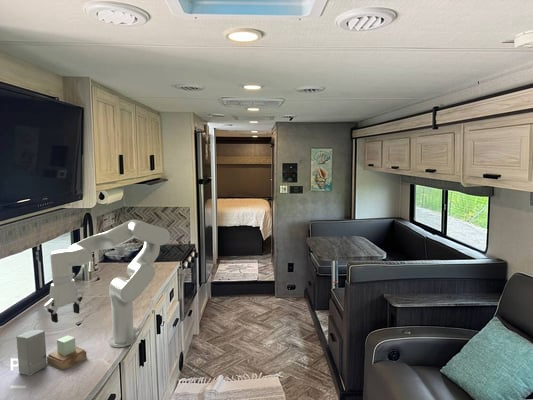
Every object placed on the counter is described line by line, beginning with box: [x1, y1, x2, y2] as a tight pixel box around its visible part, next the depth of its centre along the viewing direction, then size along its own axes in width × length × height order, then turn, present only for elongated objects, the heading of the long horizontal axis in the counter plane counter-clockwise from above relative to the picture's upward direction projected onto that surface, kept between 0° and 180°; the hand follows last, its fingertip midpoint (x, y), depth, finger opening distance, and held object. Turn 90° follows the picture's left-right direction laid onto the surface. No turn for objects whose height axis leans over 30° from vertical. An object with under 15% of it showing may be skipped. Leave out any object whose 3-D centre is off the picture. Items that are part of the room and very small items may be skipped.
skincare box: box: [15, 328, 48, 377], centre depth 153 cm, size 8×7×16 cm
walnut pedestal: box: [46, 346, 88, 371], centre depth 160 cm, size 11×11×4 cm
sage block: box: [56, 334, 77, 356], centre depth 160 cm, size 5×5×6 cm
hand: (66, 317), depth 159 cm, fingers open, 9 cm apart
